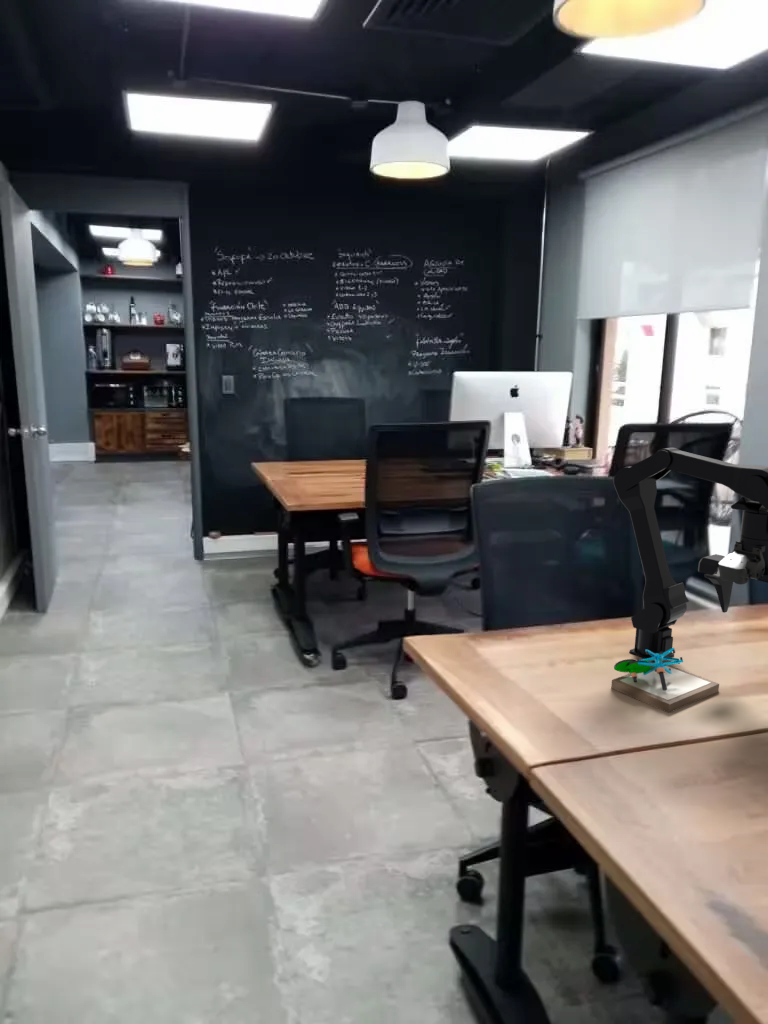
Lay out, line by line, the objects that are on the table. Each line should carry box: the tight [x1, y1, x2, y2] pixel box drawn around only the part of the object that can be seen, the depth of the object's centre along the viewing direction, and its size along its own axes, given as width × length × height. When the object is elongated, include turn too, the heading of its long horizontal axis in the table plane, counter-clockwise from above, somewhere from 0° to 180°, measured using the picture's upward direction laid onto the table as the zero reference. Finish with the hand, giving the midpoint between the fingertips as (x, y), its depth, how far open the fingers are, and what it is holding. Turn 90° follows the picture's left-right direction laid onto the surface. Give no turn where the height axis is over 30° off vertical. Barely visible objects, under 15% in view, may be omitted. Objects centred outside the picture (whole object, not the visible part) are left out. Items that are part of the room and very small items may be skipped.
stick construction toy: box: [613, 647, 684, 691], centre depth 136 cm, size 12×7×8 cm
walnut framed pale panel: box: [610, 662, 720, 714], centre depth 138 cm, size 12×15×2 cm
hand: (748, 619), depth 140 cm, fingers open, 9 cm apart
